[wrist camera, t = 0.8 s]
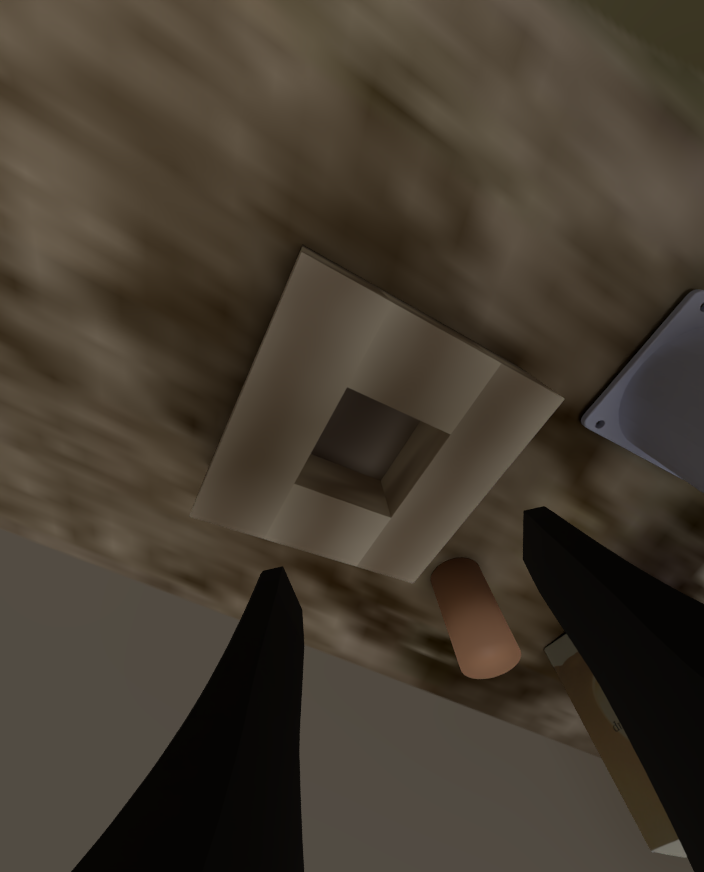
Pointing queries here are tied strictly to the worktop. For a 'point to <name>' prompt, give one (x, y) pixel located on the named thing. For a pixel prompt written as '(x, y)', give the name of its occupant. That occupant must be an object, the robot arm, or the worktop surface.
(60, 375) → the worktop surface
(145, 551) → the worktop surface
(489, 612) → the peg
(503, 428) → the socket block
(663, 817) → the skincare box
